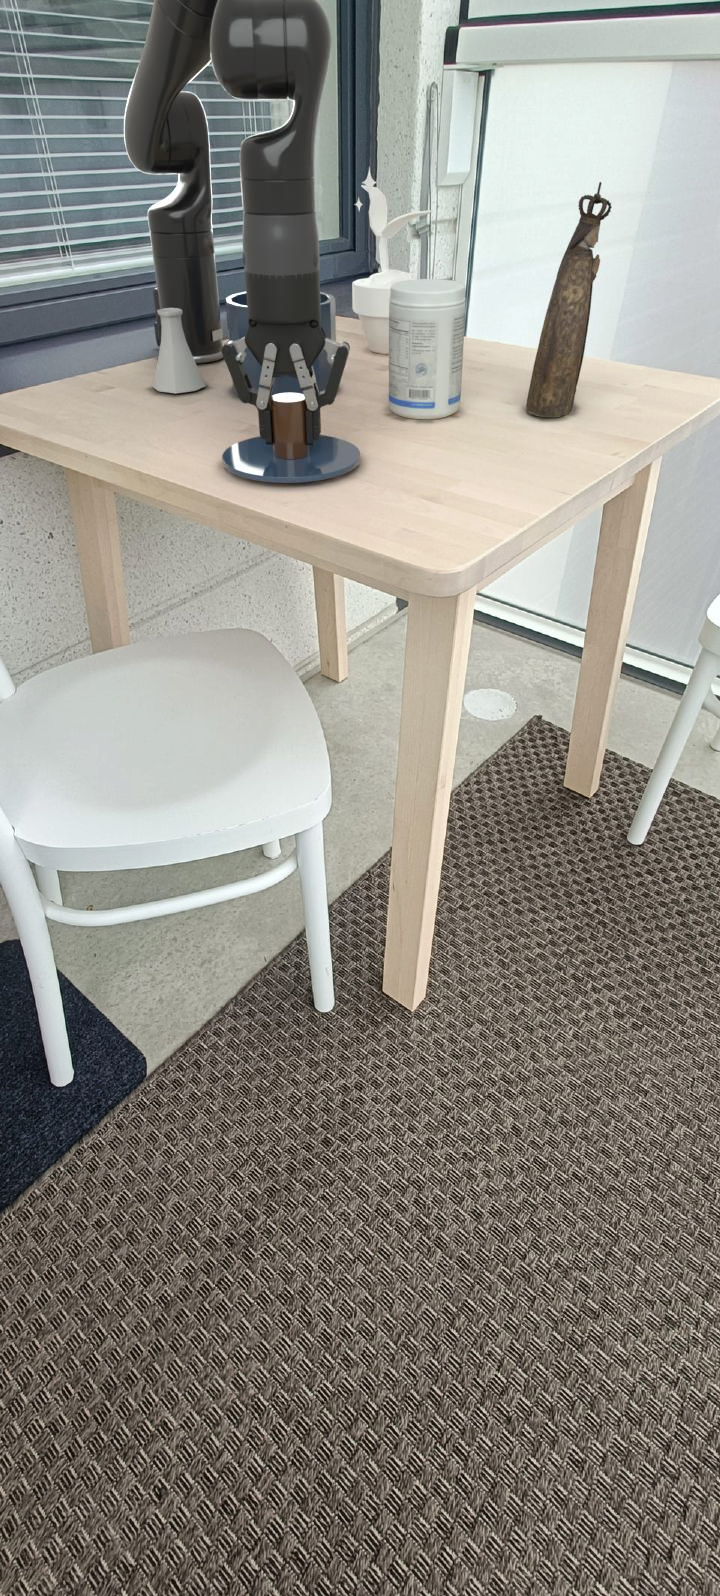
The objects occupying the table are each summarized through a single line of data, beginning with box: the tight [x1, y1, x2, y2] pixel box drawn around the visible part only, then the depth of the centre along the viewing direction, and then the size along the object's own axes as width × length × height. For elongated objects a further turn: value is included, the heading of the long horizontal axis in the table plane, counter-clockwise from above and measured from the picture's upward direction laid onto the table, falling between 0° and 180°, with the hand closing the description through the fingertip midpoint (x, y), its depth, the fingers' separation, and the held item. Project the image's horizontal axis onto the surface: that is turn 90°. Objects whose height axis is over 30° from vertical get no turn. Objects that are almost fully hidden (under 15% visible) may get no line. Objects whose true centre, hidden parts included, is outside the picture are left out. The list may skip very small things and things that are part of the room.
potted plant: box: [351, 166, 432, 355], centre depth 136 cm, size 13×12×25 cm
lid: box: [221, 393, 361, 484], centre depth 97 cm, size 16×16×7 cm
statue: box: [525, 181, 612, 419], centre depth 109 cm, size 9×8×25 cm
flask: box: [151, 308, 207, 394], centre depth 122 cm, size 7×7×10 cm
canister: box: [224, 291, 337, 398], centre depth 121 cm, size 15×15×12 cm
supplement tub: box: [388, 278, 467, 420], centre depth 112 cm, size 10×10×15 cm
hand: (290, 442), depth 98 cm, fingers closed on lid, 4 cm apart
